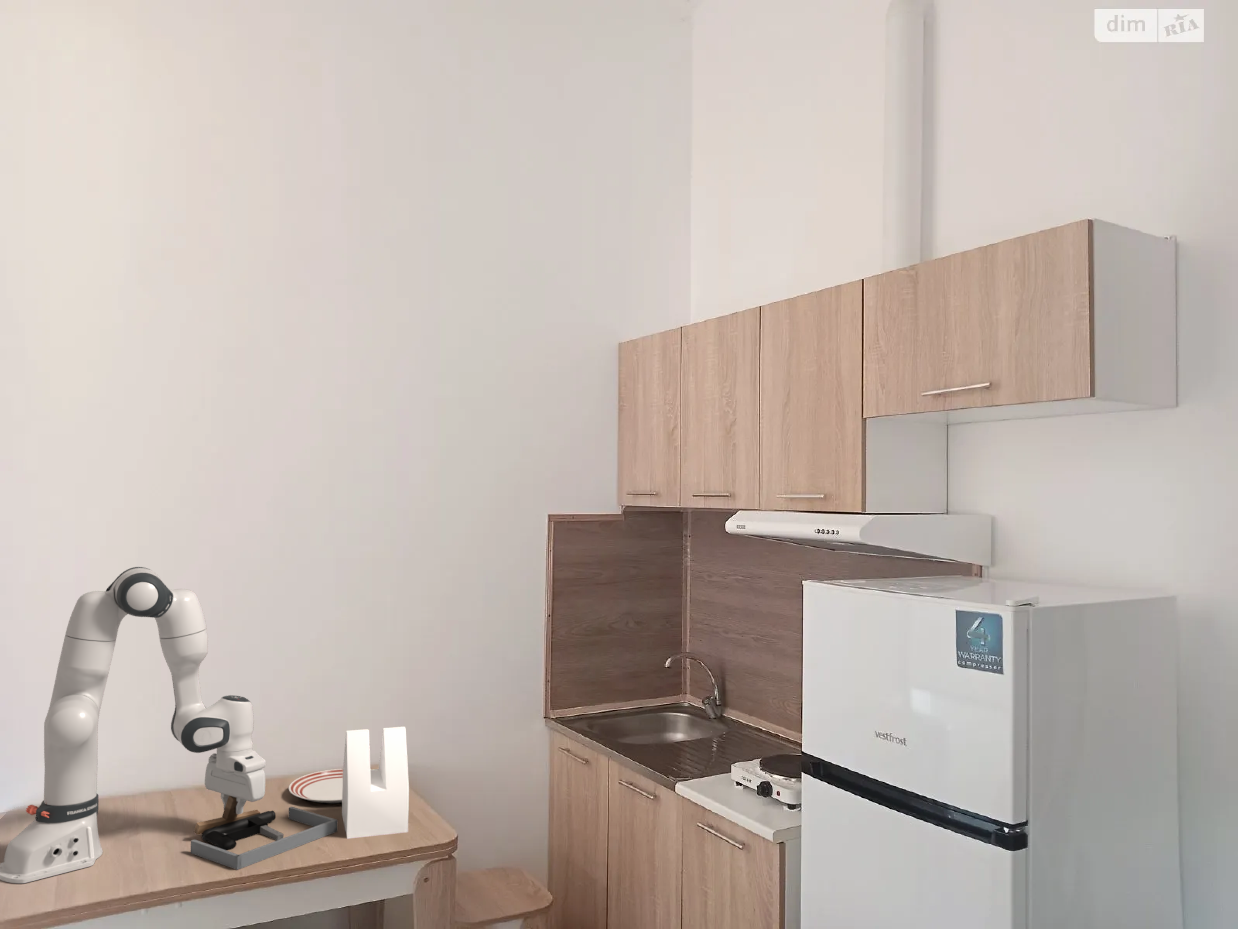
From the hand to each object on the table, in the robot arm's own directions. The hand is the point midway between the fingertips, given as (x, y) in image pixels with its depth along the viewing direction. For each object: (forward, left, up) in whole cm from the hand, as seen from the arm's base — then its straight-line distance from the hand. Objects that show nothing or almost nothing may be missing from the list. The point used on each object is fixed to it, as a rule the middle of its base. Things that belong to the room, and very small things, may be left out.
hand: (233, 812), depth 247 cm
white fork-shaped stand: (+25, -25, -5) cm, 36 cm away
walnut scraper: (-1, +2, -4) cm, 4 cm away
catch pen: (0, -13, -5) cm, 14 cm away
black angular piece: (0, -7, -6) cm, 9 cm away
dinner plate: (+36, +2, -5) cm, 37 cm away
